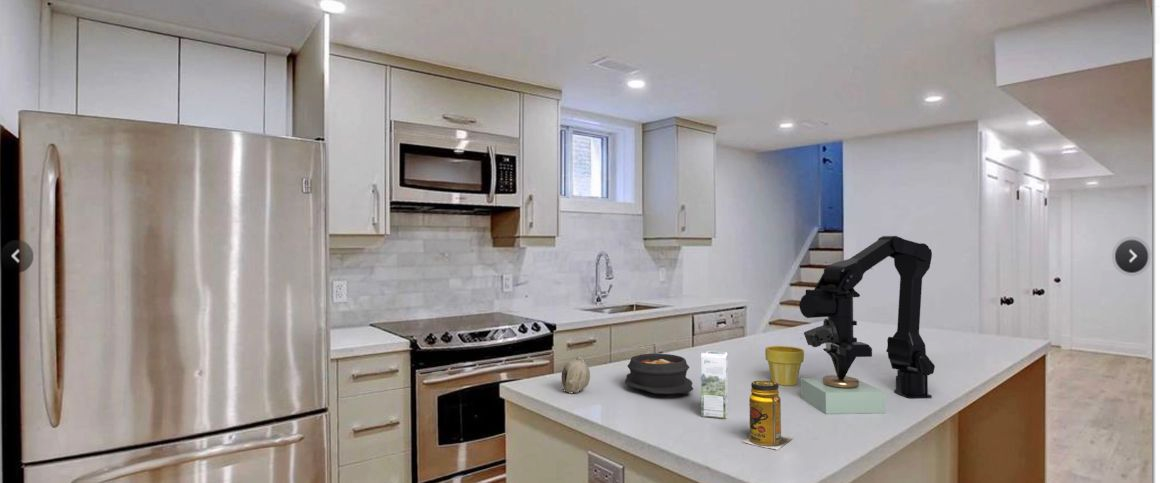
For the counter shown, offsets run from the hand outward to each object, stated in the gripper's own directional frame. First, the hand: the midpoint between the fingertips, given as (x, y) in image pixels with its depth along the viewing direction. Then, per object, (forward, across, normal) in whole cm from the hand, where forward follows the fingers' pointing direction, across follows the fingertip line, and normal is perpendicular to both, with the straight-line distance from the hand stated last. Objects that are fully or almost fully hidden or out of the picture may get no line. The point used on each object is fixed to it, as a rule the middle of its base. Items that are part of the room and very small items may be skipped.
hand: (840, 379), depth 143 cm
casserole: (+7, -19, -42) cm, 47 cm away
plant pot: (+7, -23, -5) cm, 24 cm away
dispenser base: (+6, 0, 0) cm, 6 cm away
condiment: (+7, +24, -27) cm, 37 cm away
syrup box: (+7, +6, -33) cm, 34 cm away
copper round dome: (+5, 0, 0) cm, 5 cm away
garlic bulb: (+7, -17, -65) cm, 68 cm away
